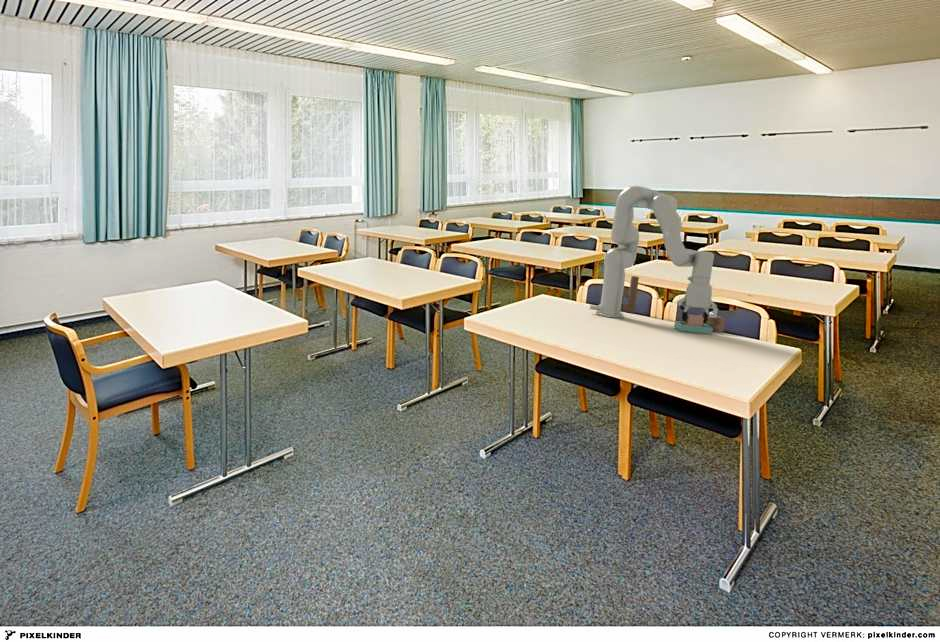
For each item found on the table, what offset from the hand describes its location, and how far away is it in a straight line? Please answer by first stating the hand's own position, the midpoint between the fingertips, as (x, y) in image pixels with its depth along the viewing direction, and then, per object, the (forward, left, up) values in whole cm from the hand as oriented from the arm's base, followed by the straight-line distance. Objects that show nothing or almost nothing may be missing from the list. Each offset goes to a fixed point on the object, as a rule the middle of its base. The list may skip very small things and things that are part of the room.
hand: (693, 321), depth 249 cm
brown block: (+10, +8, -4) cm, 13 cm away
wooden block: (-22, +42, -4) cm, 48 cm away
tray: (0, 0, -4) cm, 4 cm away
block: (0, 0, -4) cm, 4 cm away
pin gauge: (+10, +8, -4) cm, 14 cm away
